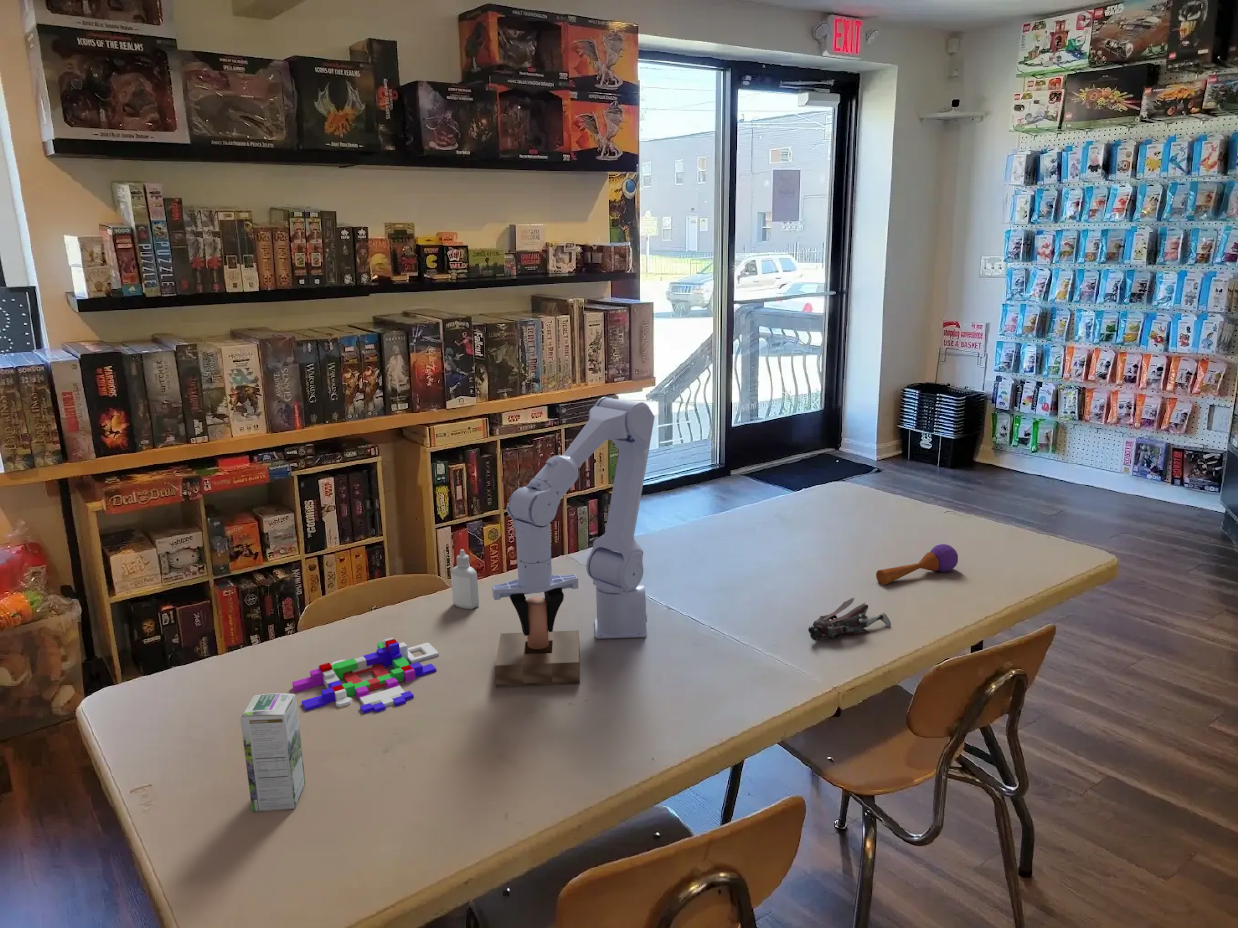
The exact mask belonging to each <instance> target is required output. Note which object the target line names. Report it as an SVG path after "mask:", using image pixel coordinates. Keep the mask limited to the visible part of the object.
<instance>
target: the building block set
mask: <svg viewBox="0 0 1238 928" xmlns="http://www.w3.org/2000/svg"><path fill="white" fill-rule="evenodd" d="M418 651H422V652H423V654H422V655H418V656H414V654H412V653H414V652H418ZM439 656H440V653H439V652H438V650H437V649H436V648H435V647H434V646H432V645H431V643H429V642H424V643H421V644H418V645H415V646H411V647H408V645H407V644H406V642H398V641H397V640H396V639H395V638H394V637H393V636H392V637H388V638H385V639H383V640H382V641H380V642H377V649H376V651H375V652H371V653H368V654H365V655H362V656H360V657H357V658H354V657H353V658H349V659H340V660H336V661H333V662H332V663H330V662H326V663H323V664H322V663H321V664H319V666H318V668H316V669H313V670H309V674H310V675H309V677H305V678H302V679H298V680H294V681H292V683H291V684H292V689H293V691H294V692H295V693H298V692H302V691H305V690H309V689H312V688H315V687H320V686H322V685H324V686H325V689H322V690H321V691H320V692H321V694H320V695H317V696H314V697H311V698H307V699H304V700H301V705H302V707H303V709H304V710H305V711H306V712H308V711H312V710H314V709H318V708H322V707H324V706H327V704H330V703H333V702H335V706H336V707H338V708H344V707H347V706H350V705H351V704H352V702H353V698H352V697H353V696H356V697H357V698H358V700H359V702H360V704H361V705H360V706H359V709H360V711H361V712H362V714H367V713H370V712H373V711H374V712H375V713H378V712H382V711H386V707H389V706H392V705H394V706H395V707H398V706H401V705H404V704H406V703H407V701H408V700H409V701H410V700H412V699H414V698H415V697H414V693H413V692H412V691H411V690H408V691H405V690H404V689H403V688H402V686H401V685H400V684H399V682H403V681H404V682H406V683H408V682H411V681H414V680H416V679H417V678H416V677H423V676H426V675H428V674H432V673H436V672H437V667H435V666H434V664H432V663H429V664H425V665H422V664H421V662H422V661H425V660H429V659H433V658H435V657H439ZM410 663H411V664H410ZM388 666H390V667H391V668H392V669H391V670H390V673H389V671H388V669H386V667H388ZM370 670H371V671H370ZM366 671H368V672H371V673H372V674H373V676H374V677H373V678H370V679H366V680H362V679H361V678H360V677H359V676H358V675H360V674H364V673H367V672H366ZM363 672H364V673H363ZM341 680H344V681H345V683H342V682H341ZM346 682H347V683H346ZM383 687H385V688H386V689H384V690H380V691H378V692H374V693H371V694H370V693H369V692H370V691H373V690H376V689H380V688H383Z"/></svg>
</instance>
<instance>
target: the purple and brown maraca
mask: <svg viewBox="0 0 1238 928" xmlns="http://www.w3.org/2000/svg"><path fill="white" fill-rule="evenodd" d="M958 562H959V555H958V552H957V550H956V549H955V548H954V547H952V546H951V545H950V544H945V543H939V544H937V545H935V546H934V547H933V548H932V549H930V552H926V554H924V555H923V557H922V558H921V559H920V560H919V562H918V563H912V564H907V565H902V566H901V565H900V566H896V567H890V568H884V569H878V570H877V571H876V573H875V577H876V580H877V582H878V583H879V584H881V586H882V585H883V586H887V585H888V584H890V583H892V582H895V581H898V580H899V579H901V578H903V577H904V576H908V575H909V574H912V573H913V572H915V571H917V570H919V569H922V570H927V571H931V572H936V571H937V572H942V573H943V572H945V573H947V572H950V571H953V569H954V568H956V567H957V565H958Z"/></svg>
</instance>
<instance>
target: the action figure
mask: <svg viewBox="0 0 1238 928" xmlns="http://www.w3.org/2000/svg"><path fill="white" fill-rule="evenodd" d="M855 599H856V597H852V598H849V599H847V600H846V601H843V603H842V604H841V605H840V606H838V608H837V609H835V610H834V611H833V612H831V613H830V614H824V615H820V616H819V618H818V619H816V620H814V621H813V623H812V625H810V626H809V627H808V629H807V630H808V632H809V636H810V638H811V639H812V641H819V640H820V639H822V637H823V635H824V636H827V637H828V638H829V639H835V636H840V635H848V636H855V635H857V636H858V635H860V636H861V635H862V634H863V635H864V634H865V635H866V634H871V631H869V630H866V628H869V626H871V625H872V624H874V623H875V622H877V621H879V620H880V621H881V622H882V623H884V624H885V626H887V627H888V628H891V626H892V624H891V623H892V622H891V620H890V618H889V617H888V615H887V614H886V612H882V613H880V614H879V615H876V616H869V617H867V616H866V614H867V612H868V609H869V604H867V603H866V602H864V603H861V604H860V605H857V606H855V607H854V608H853V609H851V610H849V612H847V613H845V614H844V615H841V616H839V617H838V616H837V615H838V614H839V613H841V612H842V611H844V610H845V609H847V608H849V606H851V605H852V604H853V602H854V601H855ZM863 619H864V620H863Z"/></svg>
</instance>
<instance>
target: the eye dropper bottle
mask: <svg viewBox="0 0 1238 928" xmlns="http://www.w3.org/2000/svg"><path fill="white" fill-rule="evenodd" d="M459 551H460V552H459V554H458V555H457V556H456V566H454V567H452V568H451V570H450V579H451V582H450V583H451V593H452V604H453V605H454V606H455V607H458V608H460V609H466V610H473V609H476V608H477V607H479V606H480V599H479V595H480V594H479V583H478V573H477V570H475V568H473V567H472V566H470V556H469V555H468V554H466V552H465V550H464V548H463V549H460V550H459Z"/></svg>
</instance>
